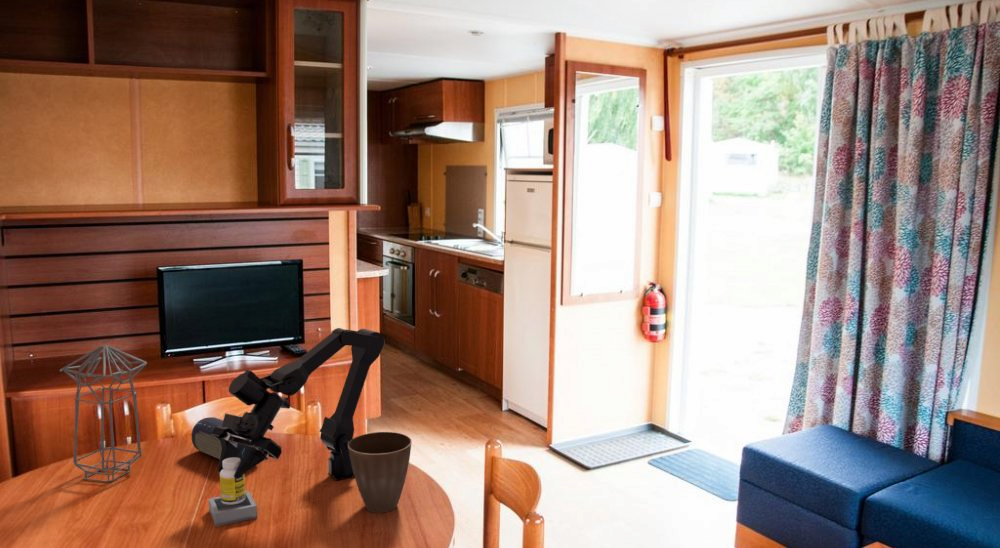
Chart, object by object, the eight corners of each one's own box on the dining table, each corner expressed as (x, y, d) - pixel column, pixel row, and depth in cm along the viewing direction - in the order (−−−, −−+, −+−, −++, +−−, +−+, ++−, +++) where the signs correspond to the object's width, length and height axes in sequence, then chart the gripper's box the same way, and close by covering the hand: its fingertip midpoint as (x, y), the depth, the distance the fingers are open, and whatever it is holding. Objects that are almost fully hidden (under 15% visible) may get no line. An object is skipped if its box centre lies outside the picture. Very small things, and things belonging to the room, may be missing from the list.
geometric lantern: (106, 461, 213) (101, 336, 209) (154, 469, 209) (151, 342, 205) (59, 483, 198) (53, 349, 194) (110, 491, 194) (106, 355, 190)
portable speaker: (186, 453, 220) (184, 419, 219) (218, 443, 228) (216, 410, 226) (236, 475, 204) (234, 439, 203) (268, 464, 212) (267, 429, 211)
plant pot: (360, 525, 176) (358, 458, 174) (341, 500, 189) (340, 437, 187) (421, 512, 183) (421, 447, 181) (399, 489, 196) (398, 428, 194)
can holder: (249, 502, 188) (249, 491, 187) (257, 518, 180) (256, 505, 179) (209, 510, 183) (208, 498, 183) (215, 526, 175) (214, 514, 175)
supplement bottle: (238, 506, 178) (235, 465, 176) (216, 504, 179) (213, 463, 178) (250, 496, 183) (247, 456, 182) (229, 494, 184) (226, 455, 183)
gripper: (215, 392, 186) (178, 451, 178) (269, 405, 176) (232, 468, 168) (243, 415, 194) (209, 472, 186) (297, 428, 184) (263, 489, 176)
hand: (227, 475), depth 179 cm, fingers closed on supplement bottle, 5 cm apart
